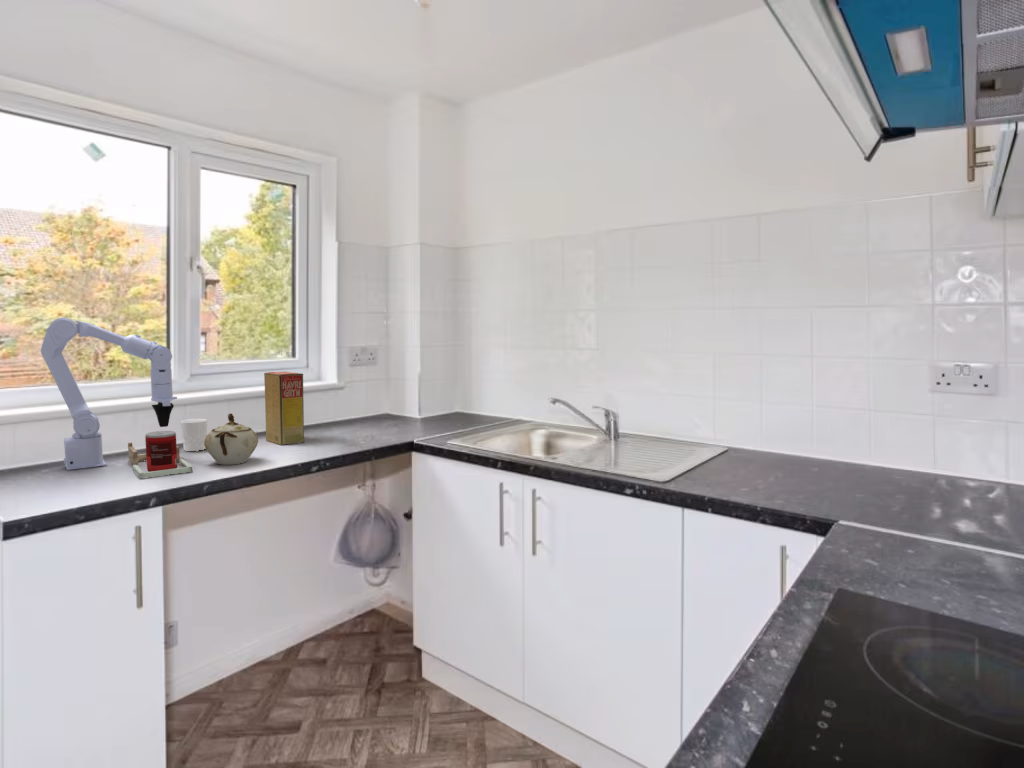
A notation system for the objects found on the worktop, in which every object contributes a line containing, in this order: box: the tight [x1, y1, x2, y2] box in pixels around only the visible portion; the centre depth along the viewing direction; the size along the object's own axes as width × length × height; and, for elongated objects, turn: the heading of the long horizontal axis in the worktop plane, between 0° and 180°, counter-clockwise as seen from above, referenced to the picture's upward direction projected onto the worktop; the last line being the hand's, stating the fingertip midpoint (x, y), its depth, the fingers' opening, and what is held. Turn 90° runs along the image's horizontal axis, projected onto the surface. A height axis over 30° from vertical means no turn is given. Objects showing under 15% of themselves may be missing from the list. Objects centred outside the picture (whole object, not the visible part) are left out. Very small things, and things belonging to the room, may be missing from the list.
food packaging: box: [263, 371, 305, 446], centre depth 220 cm, size 13×9×25 cm
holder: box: [127, 441, 181, 467], centre depth 186 cm, size 12×11×6 cm
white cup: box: [180, 418, 208, 452], centre depth 205 cm, size 8×8×10 cm
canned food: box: [144, 430, 178, 472], centre depth 176 cm, size 8×8×11 cm
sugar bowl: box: [204, 413, 259, 466], centre depth 187 cm, size 20×15×15 cm
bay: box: [132, 458, 194, 479], centre depth 175 cm, size 13×13×2 cm
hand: (163, 426), depth 193 cm, fingers closed
